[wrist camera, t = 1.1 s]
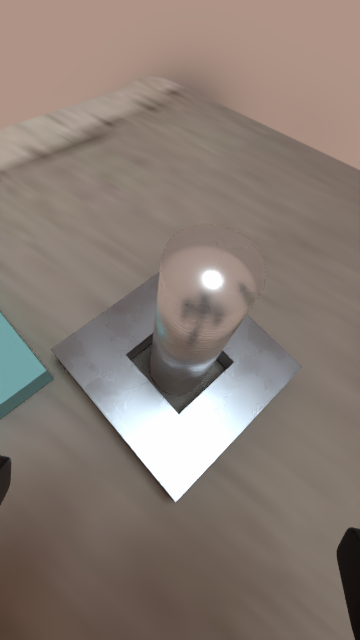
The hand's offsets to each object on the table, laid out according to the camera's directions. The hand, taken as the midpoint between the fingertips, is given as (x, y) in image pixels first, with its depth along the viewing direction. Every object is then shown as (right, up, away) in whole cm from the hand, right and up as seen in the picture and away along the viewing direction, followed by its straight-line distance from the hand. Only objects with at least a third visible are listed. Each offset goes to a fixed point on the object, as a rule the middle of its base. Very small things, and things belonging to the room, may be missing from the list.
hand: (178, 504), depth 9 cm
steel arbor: (0, +1, +16) cm, 16 cm away
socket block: (0, +1, +16) cm, 16 cm away
